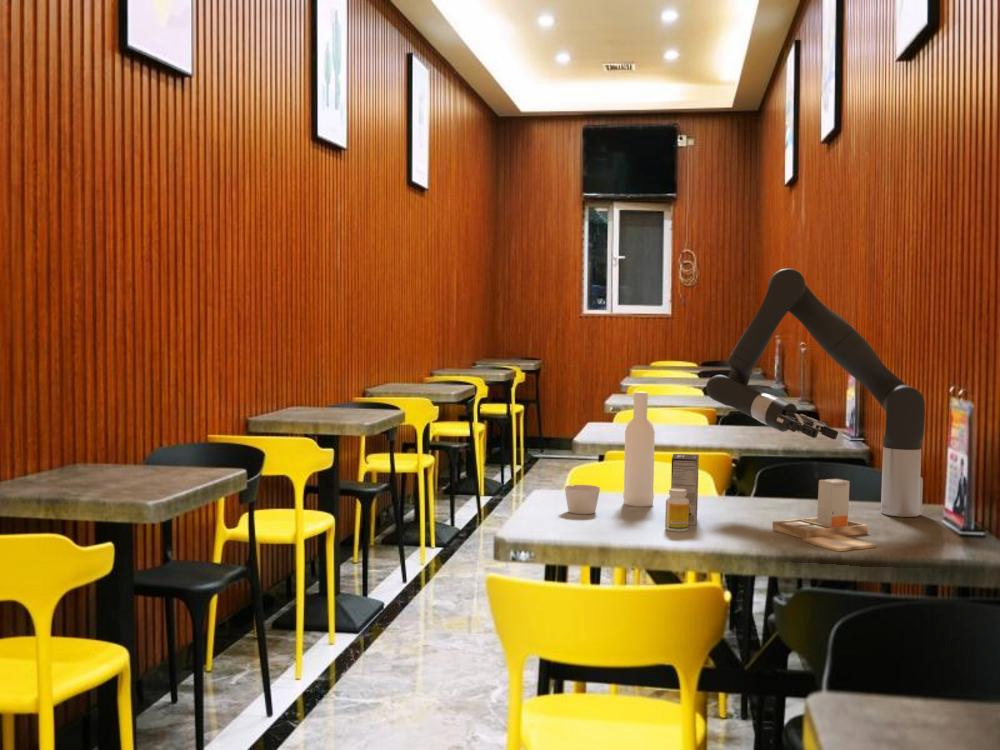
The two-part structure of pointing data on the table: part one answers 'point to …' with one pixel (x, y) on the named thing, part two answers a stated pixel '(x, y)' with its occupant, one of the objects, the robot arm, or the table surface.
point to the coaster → (838, 542)
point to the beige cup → (582, 498)
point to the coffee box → (687, 480)
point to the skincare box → (833, 502)
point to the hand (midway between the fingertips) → (826, 435)
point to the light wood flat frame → (817, 528)
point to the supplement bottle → (677, 510)
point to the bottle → (639, 456)
